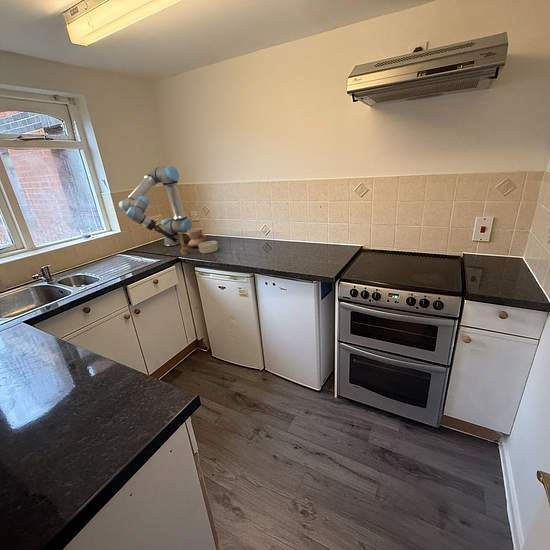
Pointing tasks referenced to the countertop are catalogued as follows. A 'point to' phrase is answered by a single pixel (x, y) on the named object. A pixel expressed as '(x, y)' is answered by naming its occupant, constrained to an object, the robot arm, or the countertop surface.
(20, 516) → the countertop surface
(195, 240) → the ceramic jug
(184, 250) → the brush
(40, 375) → the countertop surface
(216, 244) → the bowl
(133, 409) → the countertop surface
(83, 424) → the countertop surface
